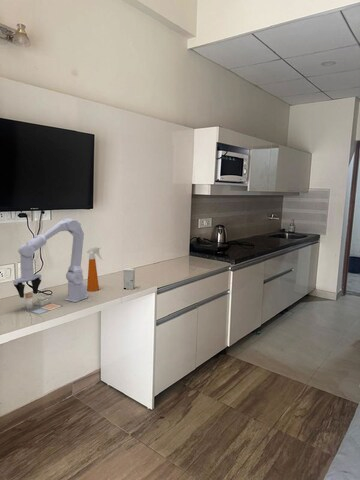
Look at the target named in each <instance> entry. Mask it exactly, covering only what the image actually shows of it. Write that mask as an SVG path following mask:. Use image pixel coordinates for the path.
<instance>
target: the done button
mask: <svg viewBox="0 0 360 480" xmlns="http://www.w3.org/2000/svg"><path fill="white" fill-rule="evenodd" d="M46 299H47V297H44V296H41V297H38V298H37V300H38V301H41V302H42V301H45V300H46Z"/></svg>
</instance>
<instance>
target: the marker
mask: <svg viewBox="0 0 360 480" xmlns="http://www.w3.org/2000/svg"><path fill="white" fill-rule="evenodd" d="M33 294H34V293H33V292H26V293H24V297H25V298H24V299H25V307H26V309H33V304H34V303H33V301H34V300H33Z"/></svg>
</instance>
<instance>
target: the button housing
mask: <svg viewBox="0 0 360 480" xmlns="http://www.w3.org/2000/svg"><path fill="white" fill-rule="evenodd" d="M49 301H50V300H49V299H48V298H46V300H45V301H42V302H41V301H38V299H36V300H34V302H35V303H34V304H36V305H41V306H42V305H45V304H48V303H49Z"/></svg>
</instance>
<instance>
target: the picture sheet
mask: <svg viewBox="0 0 360 480" xmlns="http://www.w3.org/2000/svg"><path fill="white" fill-rule="evenodd" d="M61 307H64V305H62V304H58V303H54V302H49V303H48V304H45V305H42V306H41V305H36V304H35V303H33V309H26V306H24V307H21V308H19V309H18V310H20V311H24V312H27V313H32V314H35V315H42V314H44V313H48V312H50V311H53V310H55V309H59V308H61Z"/></svg>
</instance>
